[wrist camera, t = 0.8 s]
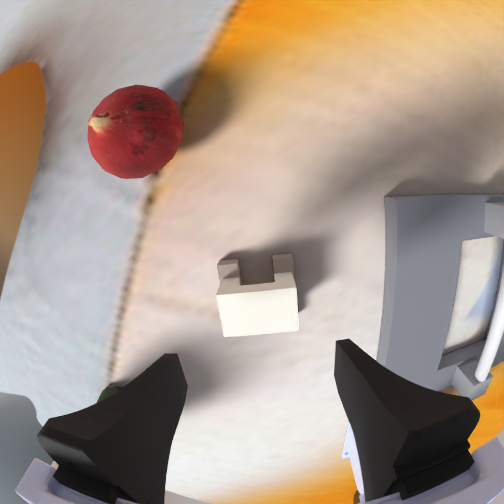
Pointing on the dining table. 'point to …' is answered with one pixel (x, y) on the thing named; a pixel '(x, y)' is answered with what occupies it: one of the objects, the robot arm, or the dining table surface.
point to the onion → (135, 131)
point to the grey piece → (436, 290)
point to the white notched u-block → (257, 300)
